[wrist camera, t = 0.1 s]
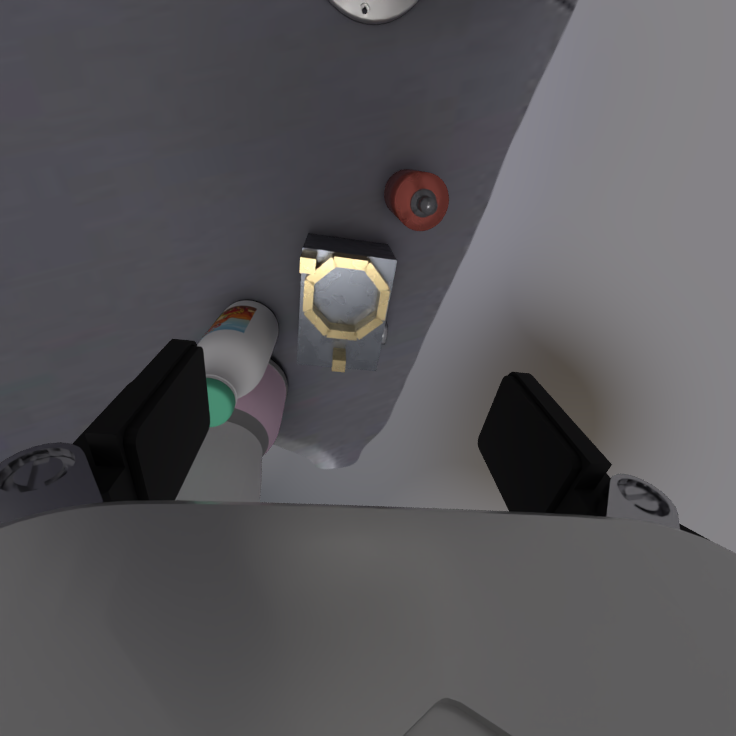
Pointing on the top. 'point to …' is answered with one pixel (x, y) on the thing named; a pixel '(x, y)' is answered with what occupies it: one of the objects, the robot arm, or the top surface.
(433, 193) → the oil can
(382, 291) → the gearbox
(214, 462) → the blender
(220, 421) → the milk bottle
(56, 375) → the top surface
